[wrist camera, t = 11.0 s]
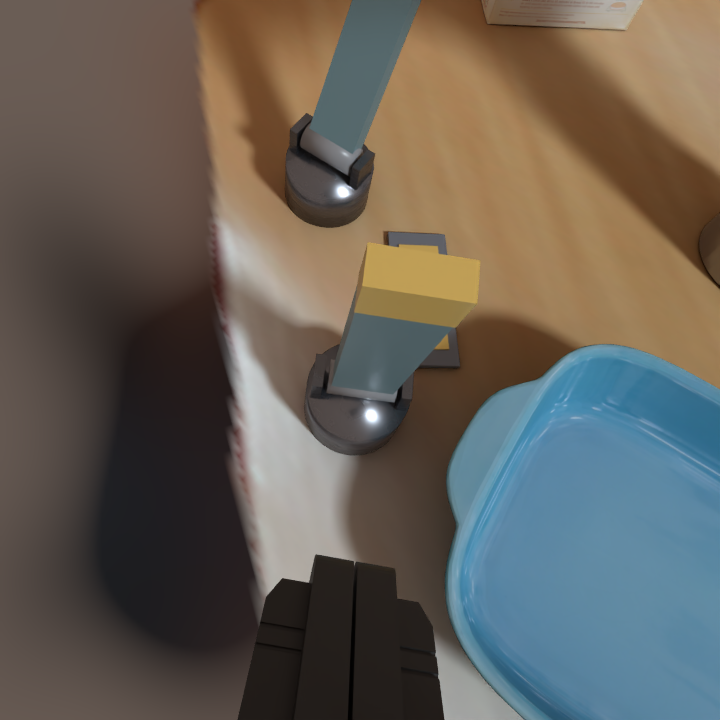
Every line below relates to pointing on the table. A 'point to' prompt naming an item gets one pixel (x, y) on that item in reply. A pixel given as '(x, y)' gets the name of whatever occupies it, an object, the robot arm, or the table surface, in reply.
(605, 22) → the coffeecake box
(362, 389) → the near lever
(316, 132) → the far lever
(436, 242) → the chart card
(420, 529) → the table surface
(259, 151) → the table surface
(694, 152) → the table surface
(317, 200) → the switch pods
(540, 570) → the casserole dish
